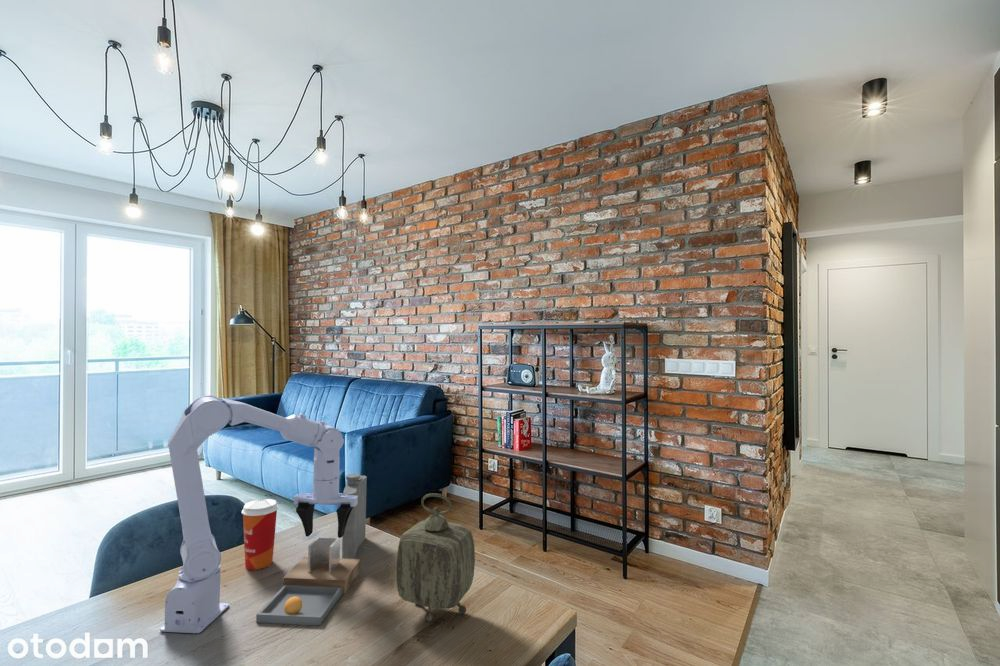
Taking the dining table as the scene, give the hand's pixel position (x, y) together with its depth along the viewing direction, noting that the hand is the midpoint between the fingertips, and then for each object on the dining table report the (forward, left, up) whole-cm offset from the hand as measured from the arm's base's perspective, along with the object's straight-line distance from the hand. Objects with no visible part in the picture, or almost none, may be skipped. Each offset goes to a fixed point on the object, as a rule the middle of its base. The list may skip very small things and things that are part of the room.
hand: (325, 535), depth 111 cm
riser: (-1, 0, -10) cm, 10 cm away
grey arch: (0, 0, -7) cm, 7 cm away
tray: (-11, 0, -10) cm, 15 cm away
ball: (-15, 0, -8) cm, 17 cm away
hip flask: (+16, -1, -11) cm, 19 cm away
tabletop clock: (-12, -28, -11) cm, 32 cm away
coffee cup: (+6, +19, -11) cm, 23 cm away
